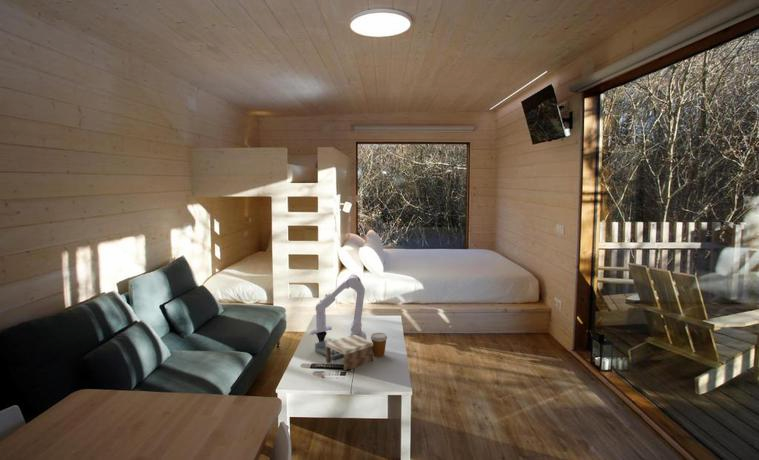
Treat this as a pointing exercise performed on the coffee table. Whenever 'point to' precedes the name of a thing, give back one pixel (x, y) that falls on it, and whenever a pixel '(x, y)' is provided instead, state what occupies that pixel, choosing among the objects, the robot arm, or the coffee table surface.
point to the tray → (322, 350)
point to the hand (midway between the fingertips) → (321, 343)
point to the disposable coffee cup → (379, 344)
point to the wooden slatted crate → (352, 350)
